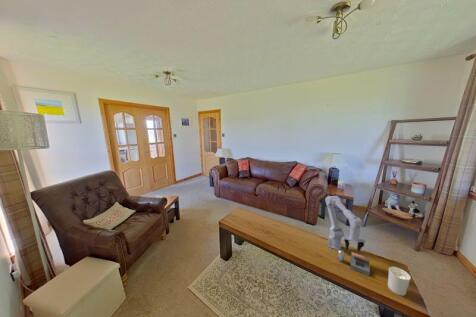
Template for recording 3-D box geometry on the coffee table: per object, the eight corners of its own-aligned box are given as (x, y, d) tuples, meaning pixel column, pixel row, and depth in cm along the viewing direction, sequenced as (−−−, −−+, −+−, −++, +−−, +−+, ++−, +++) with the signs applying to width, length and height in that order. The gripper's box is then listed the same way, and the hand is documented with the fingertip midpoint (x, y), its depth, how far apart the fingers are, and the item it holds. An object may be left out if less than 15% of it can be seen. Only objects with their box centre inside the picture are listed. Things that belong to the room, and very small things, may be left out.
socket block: (350, 268, 119) (350, 261, 118) (350, 258, 129) (351, 251, 128) (369, 276, 113) (370, 269, 112) (368, 264, 122) (369, 258, 121)
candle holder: (383, 280, 109) (385, 264, 108) (402, 285, 106) (405, 269, 104) (390, 293, 100) (393, 276, 99) (411, 299, 97) (414, 282, 95)
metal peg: (337, 260, 126) (338, 251, 125) (337, 257, 129) (338, 248, 128) (343, 263, 124) (344, 253, 123) (343, 259, 127) (344, 250, 126)
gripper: (345, 235, 120) (344, 251, 123) (368, 238, 117) (366, 255, 119) (342, 229, 127) (340, 245, 129) (363, 232, 124) (361, 248, 126)
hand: (352, 249), depth 125 cm, fingers open, 7 cm apart
